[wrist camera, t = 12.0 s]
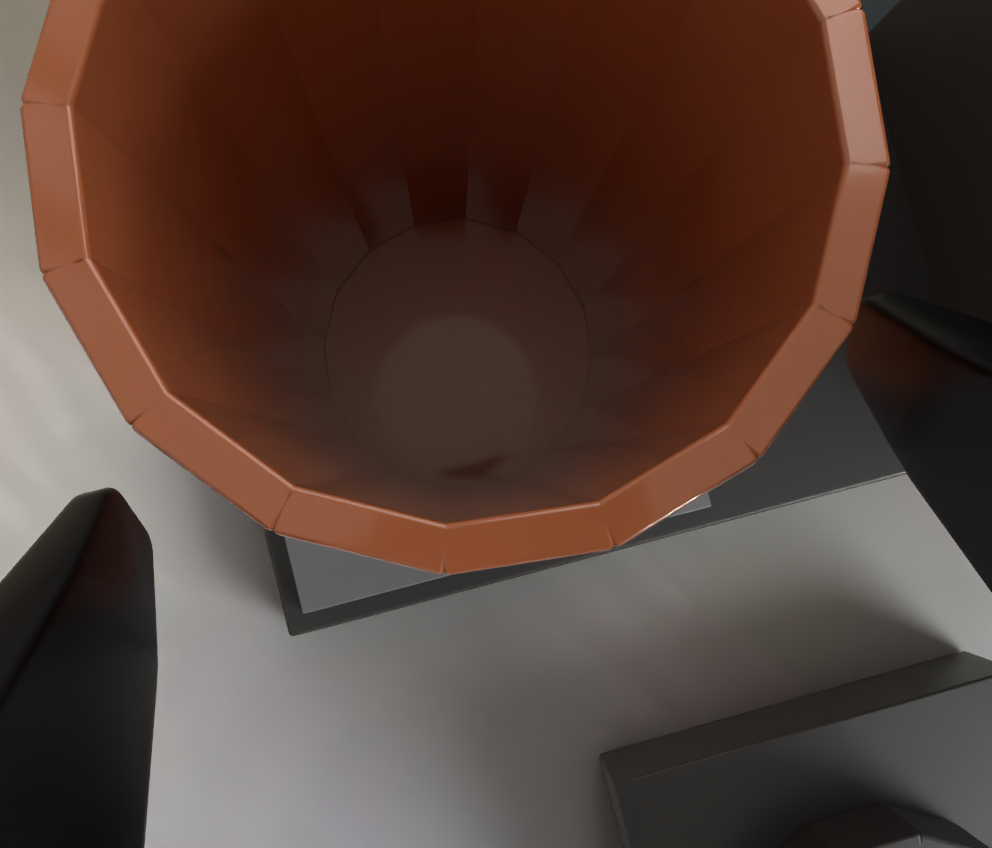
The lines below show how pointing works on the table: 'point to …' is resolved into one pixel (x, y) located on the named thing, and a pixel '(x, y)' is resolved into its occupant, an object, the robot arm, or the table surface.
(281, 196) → the cup
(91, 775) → the robot arm
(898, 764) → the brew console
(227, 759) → the table surface
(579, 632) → the table surface
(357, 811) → the table surface
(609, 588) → the table surface
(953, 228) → the coffee maker
